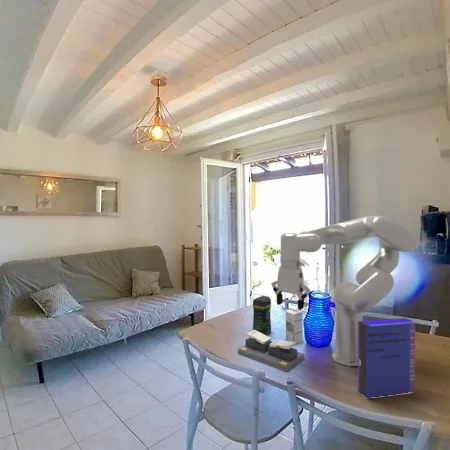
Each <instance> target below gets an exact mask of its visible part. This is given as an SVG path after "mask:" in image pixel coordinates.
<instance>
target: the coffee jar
mask: <svg viewBox="0 0 450 450" xmlns="http://www.w3.org/2000/svg"><path fill="white" fill-rule="evenodd" d="M271 307H272V299H271V298H270V296H267V295H260V296H258V297H256V298H254V299H253V300H252V308H253V319H252V331H253V330H256V331H258V332H260V333H262V334H265V335H266V336H268V335H269V334H271V332H272V323H271V321H272V319H271V318H272V317H271Z"/></svg>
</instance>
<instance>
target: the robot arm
mask: <svg viewBox="0 0 450 450" xmlns="http://www.w3.org/2000/svg"><path fill="white" fill-rule="evenodd" d="M368 238H378V245H379V248H378V252H377V254H376V255H375V256H374V257H373V258H372V259H371V260H370V261H369V262H367V263H366V264H365V265H364V266H363V267H362V268H360V269H359V270H358V271H357V272H356V275H355V281H356V283H357V284H358V285H357V284H354V283H352V282H349V281H343V282H340V283H339V284H337V285H336V287H335V289H334V293H333V296H334V297H333V299H334V305H335V333H336V334H335V335H336V336H335V337H336V338H335V346H336V347H335V351H334V352H333V353H332V354H331V357H332V360H333V361H334V362H336V363H337V364H339V363H340V365H342V366H345V365H346V367H351V366H358V321H362V314H364V313H367V312H369V311H370V310H372V308H374V307H375V306H376V305H378V304H379V303H380V302H381V301H382V300H383V299H385V298H386V297H387V296H388V295H389V294H390V293H391V292H392V290H393V287H394V285H395V281H394V280H395V279H394V277H393V275H392V274H391V273H393V272H394V270H396V268H397V267H398V265H399V262H400V252H401V253H402V252H403V253H409V252H412V251H414V250H415V249H416V248H417V246H418V243H419V242H418V237H417V234H415V233H414V232H413V231H412V230H410V229H409V228H407V227H405V226H404V225H401V224H400V223H398V222H396V221H394V220H392V219H390V218H389V217H386V216H383V215H366V216H362V217H357V218H354V219H350V220H346V221H343V222H337V223H335V224H330V225H326V226H325V225H324V226H321V227H316V228H313V229H307V230H303V231H301V232H300V233H294V232H292V233H291V232H285V233H282V234H281V235H280V266H279V267H278V272H277V278H276V279H277V280H275V281H273V282H271V286H272V290H273V292H274V293H275V296H276V305H277V306H279V305H282V304H283V302H284V301H283V293H287V294H288V293H289V294H291V295H292V294H293V295H296V297H297V298H298V299H297V310H299V311H302V310H303V309H304V308H305V307H304V306H305V299H306V298H307V297H308V296H309V294H310V292H311V288H309V287H308V286H307V285H305V279H304V272H303V268H302V267H303V262H301V259H300V258H301V252H306V253H315V252H317V251H319V250H320V249H321V247H322V246H323V245H330V244H331V245H334V244H335V245H343V244H348V243H352V242H356V241H360V240H363V239H368Z"/></svg>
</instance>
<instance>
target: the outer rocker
mask: <svg viewBox="0 0 450 450" xmlns="http://www.w3.org/2000/svg"><path fill="white" fill-rule="evenodd" d="M246 336H247V337H248V338H252V339H253V338H254V339H256V341H258V342H260V343H261V344H265V343H267V342H269V341H272V338H271V337H270V336H268V335H264V334H262V333H260V332H258V331H256V330H253V329H252V330H251V331H248V332H247V333H246Z"/></svg>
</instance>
